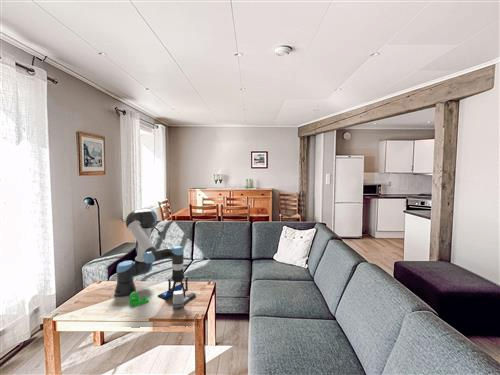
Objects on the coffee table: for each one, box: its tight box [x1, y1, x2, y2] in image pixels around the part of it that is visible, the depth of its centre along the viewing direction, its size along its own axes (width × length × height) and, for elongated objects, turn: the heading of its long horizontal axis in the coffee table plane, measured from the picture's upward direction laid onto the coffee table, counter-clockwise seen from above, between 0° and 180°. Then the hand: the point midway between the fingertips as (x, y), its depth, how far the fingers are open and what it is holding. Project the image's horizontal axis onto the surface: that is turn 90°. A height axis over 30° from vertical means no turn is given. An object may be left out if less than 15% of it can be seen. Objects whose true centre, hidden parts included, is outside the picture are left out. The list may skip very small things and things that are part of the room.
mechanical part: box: [129, 291, 149, 307], centre depth 196 cm, size 12×6×8 cm, turn 126°
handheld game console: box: [157, 282, 185, 300], centre depth 209 cm, size 16×13×9 cm
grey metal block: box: [174, 289, 183, 305], centre depth 190 cm, size 6×6×7 cm
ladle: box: [171, 292, 197, 311], centre depth 197 cm, size 8×22×6 cm, turn 156°
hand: (178, 301), depth 190 cm, fingers closed on grey metal block, 6 cm apart
